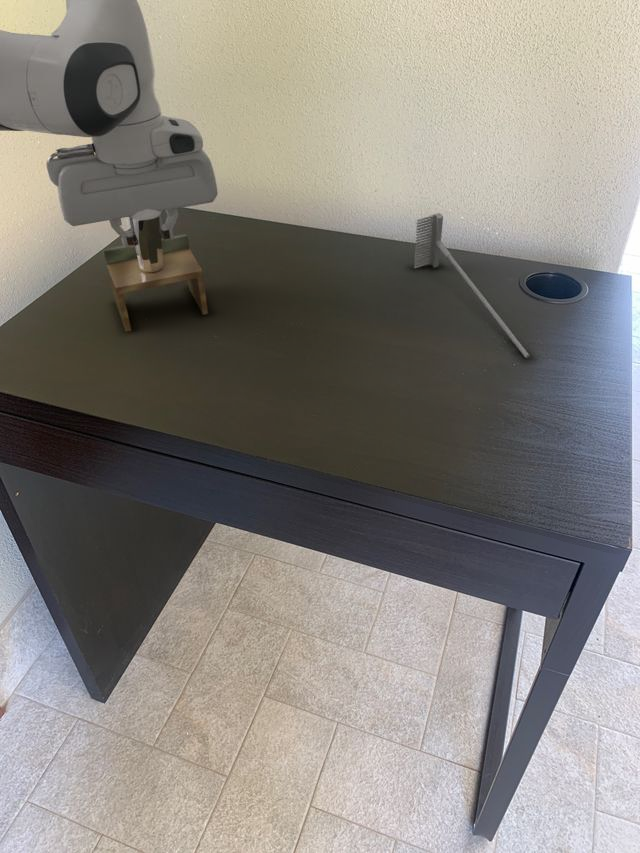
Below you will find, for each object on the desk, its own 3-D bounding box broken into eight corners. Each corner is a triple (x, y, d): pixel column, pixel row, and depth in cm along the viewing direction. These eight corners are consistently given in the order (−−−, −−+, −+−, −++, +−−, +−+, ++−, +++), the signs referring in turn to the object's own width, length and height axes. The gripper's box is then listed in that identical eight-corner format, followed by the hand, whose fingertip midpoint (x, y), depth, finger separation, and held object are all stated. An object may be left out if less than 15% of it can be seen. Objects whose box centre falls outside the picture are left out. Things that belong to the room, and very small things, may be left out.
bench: (125, 331, 96) (112, 274, 90) (116, 304, 102) (102, 249, 96) (208, 313, 100) (200, 257, 94) (194, 288, 105) (186, 233, 99)
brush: (499, 388, 93) (510, 339, 86) (413, 268, 109) (416, 218, 102) (524, 379, 94) (537, 330, 87) (435, 261, 110) (439, 212, 103)
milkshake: (177, 261, 97) (170, 192, 91) (155, 277, 94) (146, 206, 87) (151, 255, 99) (142, 186, 92) (128, 270, 95) (117, 199, 89)
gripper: (44, 159, 80) (74, 267, 89) (214, 135, 85) (225, 238, 94) (39, 142, 84) (68, 246, 93) (201, 120, 90) (213, 220, 99)
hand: (148, 242), depth 94 cm, fingers closed on milkshake, 4 cm apart
